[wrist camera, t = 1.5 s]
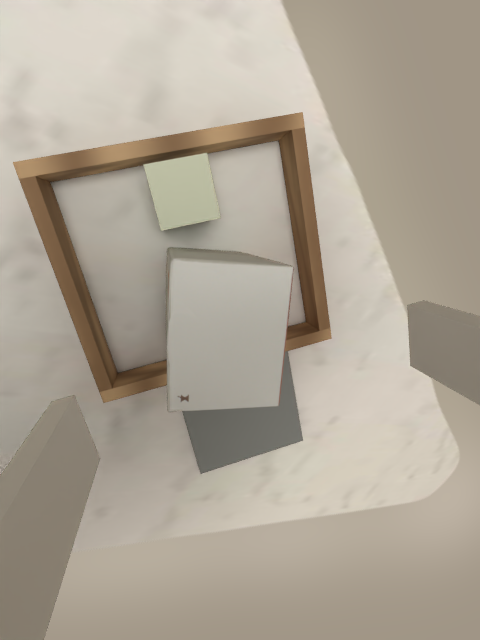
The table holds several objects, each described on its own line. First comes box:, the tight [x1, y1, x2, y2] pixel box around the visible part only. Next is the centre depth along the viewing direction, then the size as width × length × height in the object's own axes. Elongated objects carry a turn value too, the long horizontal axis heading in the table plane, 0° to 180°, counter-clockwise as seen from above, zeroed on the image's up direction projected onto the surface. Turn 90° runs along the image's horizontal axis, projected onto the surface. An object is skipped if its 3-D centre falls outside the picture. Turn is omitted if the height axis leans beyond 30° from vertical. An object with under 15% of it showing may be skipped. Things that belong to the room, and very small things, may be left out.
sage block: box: [143, 153, 221, 231], centre depth 24 cm, size 4×4×6 cm
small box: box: [166, 247, 294, 412], centre depth 23 cm, size 8×6×13 cm
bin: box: [13, 112, 332, 403], centre depth 27 cm, size 20×18×3 cm
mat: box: [182, 351, 303, 474], centre depth 33 cm, size 11×11×1 cm
